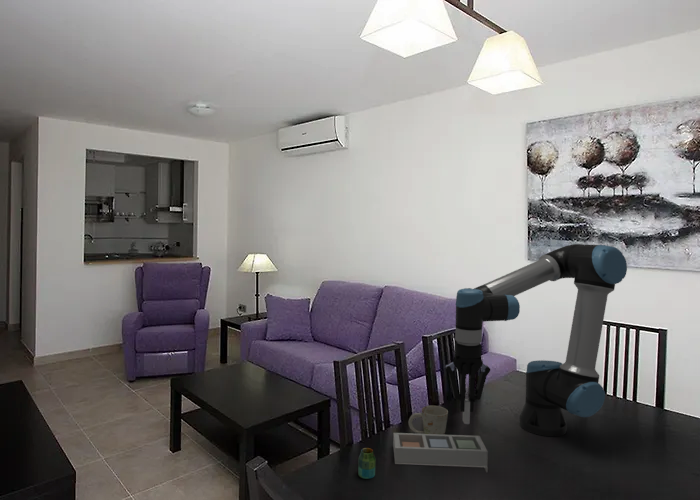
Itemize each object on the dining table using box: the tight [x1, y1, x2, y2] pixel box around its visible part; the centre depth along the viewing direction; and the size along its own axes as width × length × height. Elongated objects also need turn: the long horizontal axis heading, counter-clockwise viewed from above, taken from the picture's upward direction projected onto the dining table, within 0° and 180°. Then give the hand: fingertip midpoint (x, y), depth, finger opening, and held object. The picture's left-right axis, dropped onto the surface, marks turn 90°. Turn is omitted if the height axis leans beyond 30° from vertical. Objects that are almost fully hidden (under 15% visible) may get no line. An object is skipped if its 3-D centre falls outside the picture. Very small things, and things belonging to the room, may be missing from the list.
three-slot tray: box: [392, 432, 489, 473], centre depth 138 cm, size 26×11×6 cm, turn 88°
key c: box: [402, 442, 420, 447], centre depth 138 cm, size 5×5×2 cm
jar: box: [357, 447, 377, 480], centre depth 127 cm, size 5×5×8 cm
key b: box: [429, 439, 449, 448], centre depth 138 cm, size 5×5×2 cm
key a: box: [456, 440, 477, 449], centre depth 137 cm, size 5×5×2 cm
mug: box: [407, 405, 449, 435], centre depth 151 cm, size 8×13×10 cm, turn 78°
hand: (466, 422), depth 137 cm, fingers closed
